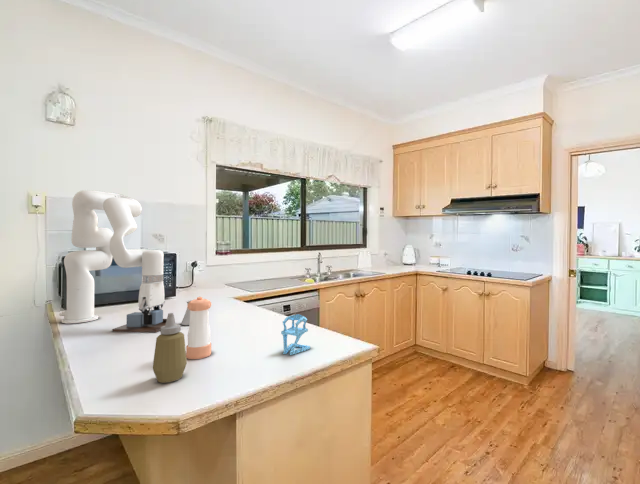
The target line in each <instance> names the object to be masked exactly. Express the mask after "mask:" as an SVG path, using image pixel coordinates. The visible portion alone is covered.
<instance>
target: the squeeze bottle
mask: <svg viewBox="0 0 640 484" xmlns="http://www.w3.org/2000/svg"><path fill="white" fill-rule="evenodd" d="M166 319H167V321H166V325H165V326H163V327H161V330H160V334H159V335H158V336H157V337H156V339H155V345H154V352H153V354H154V355H153V362H152V370H153V373H154V375H155V379H156V382H157V383H160V384H161V383H163V384H164V383H165V384H166V383H171V382H175V381H178V380H180V379H181V378H182V377H183V375H184V373H185V370H186V367H187V365H188V360H187V359H188V358H187V357H186V341H185V334H184V332H181V324H177V322H176V318H175V315H174V312H169V313H167V317H166Z"/></svg>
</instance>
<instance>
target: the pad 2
mask: <svg viewBox="0 0 640 484" xmlns="http://www.w3.org/2000/svg"><path fill="white" fill-rule="evenodd" d="M151 315H152V324H151V325H156V324H158V323H161V322H163V319H164V310H163V309H162V310H154V309H152V311H151ZM142 324H144V315H143V313H142Z"/></svg>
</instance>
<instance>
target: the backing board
mask: <svg viewBox="0 0 640 484" xmlns="http://www.w3.org/2000/svg"><path fill="white" fill-rule="evenodd" d="M166 321H167V318H163V322H161V323H158V324H156V325H145V326H142V327H126V326H127V323H126V324H123V325H120V326H117V327H115V328H112V329H111V331H112V332H115V333H116V332H117V333H158V332H161V327H163V326H165V325H166Z"/></svg>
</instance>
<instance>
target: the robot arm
mask: <svg viewBox="0 0 640 484" xmlns="http://www.w3.org/2000/svg"><path fill="white" fill-rule="evenodd" d="M71 205H72V206H71V208H72V212H73V220H72V229H71V237H70V239H71V240H70V241H71V244H72V246H73V247H75V248H81V249H85V250H74V251H70V252H68V253H67V254H66V255H65V256H64V259H63V265H64V269H65V274H66V310H63V311H61V312H59V314H58V316H60V317H63V318H62V319H61V323H62V324H67V325H69V324H82V323H87V322H92V321H96V320H98V319H99V315H98V314H95V291H96V290H95V288H96V287H95V284H96V283H95V278H94V276H93V274H91V272H92V271H102V270H103V271H104V270H106V269H108V268H109V267H111V266H112V263H113V261H114V262H115V264H116V265H117V266H118V267H120V268H122V269H129V268H139V267H141V283H140V286H139V291H138V301H137V302H138V303H137V305H138V310H139V312H142V313H143V315H144V324H145V325H151V324H152V315H151V311H152V310H163V307H164V305H165V303H166V300H165V285H164V257H165V255H164V251H163V250H161V249H148V248H132V249H131V248H130V249H129V248H128V249H127V247H126V244H125V242H124V237H126V236H128V235H131V234H133V233H134V232H135V231H136V230H137V229H138V225H137V223H136V219H135V218H137V217H139V216H141V214H142V211H143V208H142V205H141V203H140V202H139V201H138V200H137V199H135V198H132V197H130V196H127V195H124V194H121V193H117V192H109V191H103V190H94V189H82V190H80V191H77V192H76V193H75V194H74V196H73V198H72V202H71ZM96 210H97V211H98V210H99V211H104V213H105V215H106V217H107V219H108V221H109V224H110V226H111V228H112V229H111V228H108V227H104V226H103V227H101V226H100V227H99V226H98V225H99V217H98V214H97V213H96ZM112 230H113V231H112ZM88 248H91V250H90V249H89V250H88ZM92 248H93V249H92ZM94 248H95V249H94ZM86 249H87V250H86Z"/></svg>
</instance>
